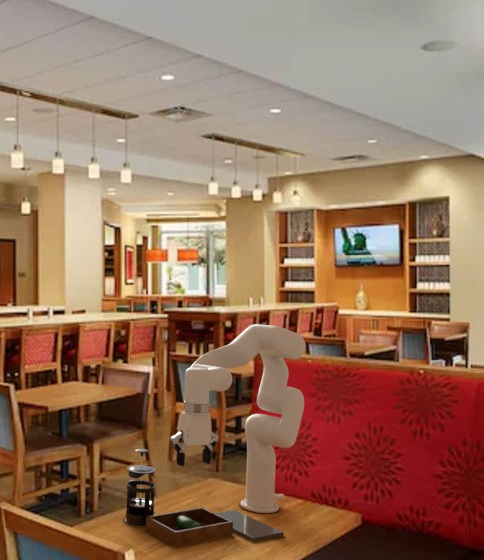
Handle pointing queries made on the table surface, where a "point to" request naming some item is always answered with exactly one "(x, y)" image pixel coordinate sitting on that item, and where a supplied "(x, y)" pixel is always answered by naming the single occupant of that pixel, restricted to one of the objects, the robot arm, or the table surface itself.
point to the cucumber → (186, 523)
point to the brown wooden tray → (175, 536)
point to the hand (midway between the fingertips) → (193, 464)
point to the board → (250, 527)
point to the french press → (140, 506)
